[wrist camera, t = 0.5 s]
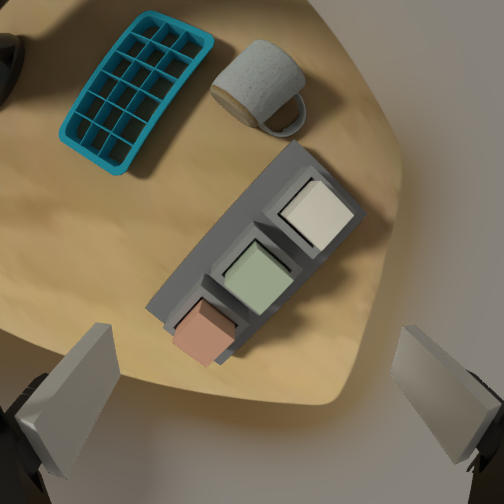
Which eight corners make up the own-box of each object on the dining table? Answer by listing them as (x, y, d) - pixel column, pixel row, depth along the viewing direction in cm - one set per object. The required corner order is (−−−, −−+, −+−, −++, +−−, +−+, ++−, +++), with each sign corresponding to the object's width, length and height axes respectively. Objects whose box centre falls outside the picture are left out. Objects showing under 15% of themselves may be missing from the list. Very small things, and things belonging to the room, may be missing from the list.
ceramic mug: (207, 99, 32) (200, 79, 24) (252, 55, 31) (257, 27, 23) (274, 154, 34) (285, 148, 26) (317, 108, 33) (338, 92, 25)
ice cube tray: (66, 139, 32) (55, 137, 29) (151, 18, 29) (145, 7, 26) (129, 180, 34) (120, 180, 31) (220, 48, 31) (219, 38, 28)
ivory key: (279, 212, 30) (286, 217, 25) (308, 180, 29) (320, 180, 25) (309, 241, 30) (321, 251, 26) (337, 210, 30) (354, 215, 26)
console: (151, 298, 37) (135, 322, 30) (289, 142, 33) (302, 133, 27) (221, 353, 39) (219, 383, 32) (357, 211, 36) (382, 218, 29)
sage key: (225, 270, 31) (224, 285, 26) (254, 239, 30) (257, 248, 26) (257, 297, 32) (260, 314, 27) (285, 267, 31) (293, 280, 27)
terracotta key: (178, 322, 32) (171, 342, 27) (203, 294, 31) (198, 312, 27) (209, 345, 33) (206, 367, 28) (234, 319, 32) (234, 340, 28)
